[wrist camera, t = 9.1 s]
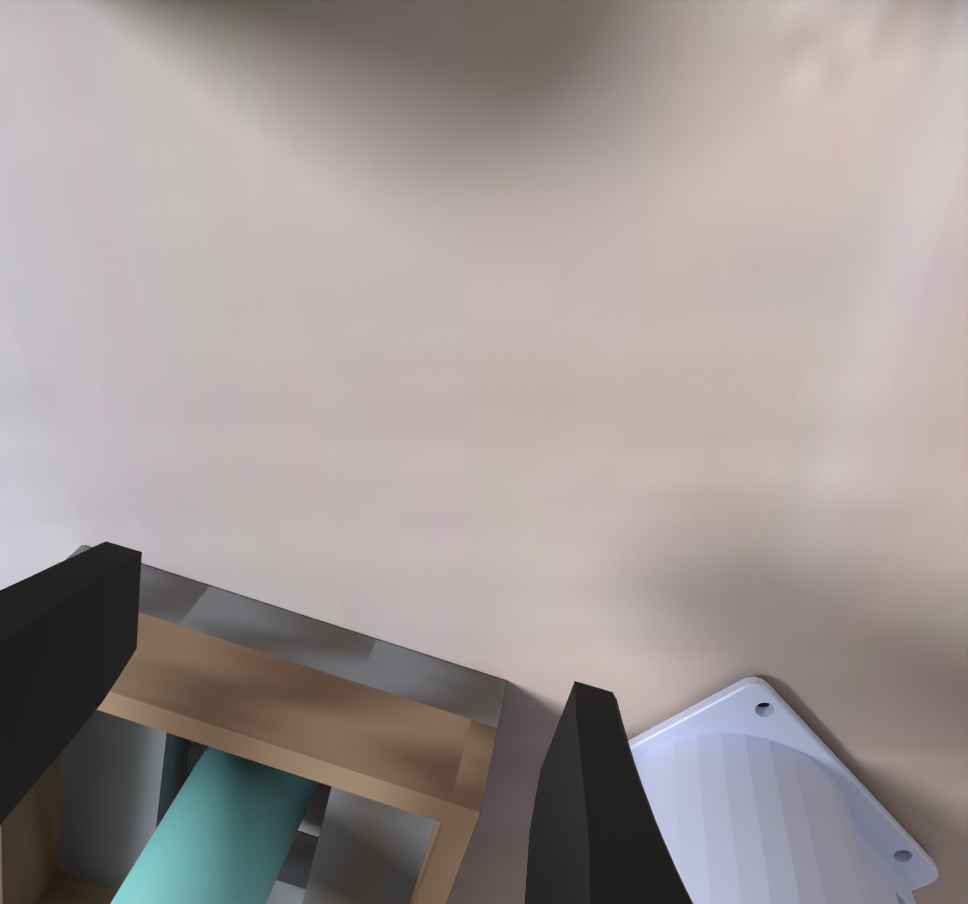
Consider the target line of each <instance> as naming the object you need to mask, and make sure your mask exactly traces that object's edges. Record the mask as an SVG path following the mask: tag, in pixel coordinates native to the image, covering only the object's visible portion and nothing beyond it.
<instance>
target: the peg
mask: <svg viewBox="0 0 968 904" xmlns="http://www.w3.org/2000/svg"><path fill="white" fill-rule="evenodd" d="M317 784H318V782H317V781H313V780H310V779H307V778H304V777H301V776H298V775H295V774H292V773H289V772H286V771H283V770H280V769H277V768H274V767H271V766H268V765H265V764H261V763H258V762H255V761H252V760H249V759H246V758H243V757H240V756H237V755H234V754H231V753H228V752H225V751H222V750H219V749H216V748H213V747H209V746H207V747H206V749H205V751H204V752H203V754H202V755H201V757H200V759H199V760H198V762H197V764H196V765H195V767H194V768H193V770H192V772H191V773H190V775H189V777H188V778H187V780H186V781H185V783H184V785H183V786H182V788H181V790H180V791H179V793H178V794H177V796H176V798H175V799H174V801H173V803H172V804H171V806H170V807H169V809H168V811H167V812H166V814H165V816H164V817H163V819H162V820H161V822H160V824H159V825H158V827H157V829H156V830H155V832H154V833H153V835H152V837H151V838H150V840H149V842H148V843H147V845H146V846H145V848H144V850H143V851H142V853H141V855H140V856H139V858H138V859H137V861H136V863H135V864H134V866H133V868H132V869H131V871H130V872H129V874H128V876H127V877H126V879H125V881H124V882H123V884H122V885H121V887H120V889H119V890H118V892H117V894H116V895H115V897H114V898H113V900H112V902H111V903H110V904H266V902H267V900H268V898H269V895H270V893H271V891H272V888H273V886H274V884H275V882H276V879H277V877H278V875H279V872H280V870H281V868H282V865H283V863H284V861H285V858H286V856H287V854H288V852H289V849H290V847H291V845H292V842H293V840H294V838H295V835H296V833H297V831H298V828H299V826H300V824H301V821H302V819H303V817H304V815H305V812H306V810H307V808H308V805H309V803H310V801H311V798H312V796H313V794H314V791H315V789H316V787H317Z"/></svg>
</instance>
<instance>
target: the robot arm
mask: <svg viewBox="0 0 968 904" xmlns="http://www.w3.org/2000/svg"><path fill="white" fill-rule="evenodd" d="M141 556H142V552H140V551H136V550H133V549H130V548H126V547H123V546H119V545H116V544H113V543H109V542H104V543H102V544H99V545H97V546H95V547H92V548H90V549H88V550H86V551H84V552H82V553H79V554H77V555H75V556H73V557H71V558H69V559H67V560H65V561H62V562H60V563H58V564H56V565H54V566H52V567H50V568H48V569H46V570H44V571H41V572H39V573H37V574H35V575H33V576H31V577H29V578H26V579H24V580H22V581H20V582H18V583H16V584H13V585H11V586H9V587H7V588H5V589H2V590H0V825H1V824H2V823H3V821H4V820H5V819H6V817H7V816H8V815H9V814H10V813H11V811H12V810H13V809H14V808H15V807H16V805H17V804H18V803H19V802H20V801H21V799H22V798H23V797H24V796H25V795H26V794H27V792H28V791H29V790H30V789H31V788H32V786H33V785H34V784H35V783H36V782H37V780H38V779H39V778H40V777H41V776H42V774H43V773H44V772H45V771H46V770H47V769H48V767H49V766H50V765H51V764H52V763H53V761H54V760H55V759H56V758H57V757H58V755H59V754H60V753H61V752H62V751H63V749H64V748H65V747H66V746H67V745H68V744H69V742H70V741H71V740H72V739H73V737H74V736H75V735H76V734H77V733H78V731H79V730H80V729H81V728H82V727H83V725H84V724H85V723H86V722H87V721H88V719H89V718H90V717H91V716H92V714H93V713H94V712H95V711H96V709H97V708H98V707H99V706H100V705H101V703H102V702H103V701H104V699H105V697H106V696H107V694H108V693H109V691H110V690H111V688H112V687H113V685H114V684H115V682H116V681H117V679H118V678H119V676H120V675H121V673H122V671H123V670H124V668H125V667H126V665H127V663H128V662H129V660H130V658H131V657H132V655H133V654H134V652H135V650H136V649H137V633H138V614H139V595H140V576H141ZM760 703H769V704H770V705H769V706H767V707H758V706H757V705H758V704H760ZM900 850H904V851H900ZM937 878H938V870H937V867H936V865H935V863H934V861H933V859H932V858H931V857H930V856H929V855H928V854H927V853H926V852H925V851H924V850H923V849H922V848H921V847H920V845H919V844H918V843H917V842H916V841H915V840H914V839H913V838H912V837H911V836H910V835H909V834H908V833H907V832H906V830H905V829H904V828H903V827H902V826H901V825H900V824H899V823H898V822H897V821H896V820H895V819H894V818H893V817H892V816H891V814H890V813H889V812H888V811H887V810H886V809H885V808H884V807H883V806H882V805H881V804H880V803H879V802H878V801H877V799H876V798H875V797H874V796H873V795H872V794H871V793H870V792H869V791H868V790H867V789H866V788H865V787H864V786H863V784H862V783H861V782H860V781H859V780H858V779H857V778H856V777H855V776H854V775H853V774H852V773H851V772H850V771H849V769H848V768H847V767H846V766H845V765H844V764H843V763H842V762H841V761H840V760H839V759H838V758H837V757H836V756H835V754H834V753H833V752H832V751H831V750H830V749H829V748H828V747H827V746H826V745H825V744H824V743H823V742H822V741H821V739H820V738H819V737H818V736H817V735H816V734H815V733H814V732H813V731H812V730H811V729H810V728H809V727H808V726H807V724H806V723H805V722H804V721H803V720H802V719H801V718H800V717H799V716H798V715H797V714H796V713H795V712H794V711H793V709H792V708H791V707H790V706H789V705H788V704H787V703H786V702H785V701H784V700H783V699H782V698H781V697H780V696H779V694H778V693H777V692H776V691H775V690H774V689H773V688H772V687H771V686H770V685H769V684H768V683H767V682H766V681H765V680H763V679H761V678H758V677H747V678H744V679H741V680H740V681H738V682H736V683H734V684H732V685H730V686H728V687H727V688H725V689H723V690H721V691H719V692H717V693H716V694H714V695H712V696H710V697H708V698H706V699H704V700H703V701H701V702H699V703H697V704H695V705H693V706H691V707H690V708H688V709H686V710H684V711H682V712H680V713H679V714H677V715H675V716H673V717H671V718H669V719H667V720H666V721H664V722H662V723H660V724H658V725H656V726H655V727H653V728H651V729H649V730H647V731H645V732H643V733H642V734H640V735H638V736H636V737H634V738H632V739H630V740H629V741H628V740H627V736H626V733H625V729H624V726H623V722H622V718H621V715H620V711H619V707H618V703H617V699H616V698H615V696H614V694H613V692H610V691H606V690H603V689H599V688H596V687H593V686H589V685H586V684H583V683H579V682H576V681H575V682H574V685H573V687H572V690H571V693H570V695H569V698H568V701H567V703H566V706H565V708H564V711H563V714H562V716H561V719H560V721H559V724H558V727H557V729H556V732H555V735H554V737H553V740H552V742H551V745H550V748H549V750H548V753H547V755H546V758H545V761H544V763H543V766H542V769H541V772H540V777H539V783H538V788H537V794H536V799H535V805H534V810H533V816H532V822H531V828H530V835H529V849H528V864H527V878H526V893H525V904H916V901H915V898H914V895H913V892H912V891H914V890H916V889H919V888H922V887H924V886H927V885H929V884H931V883H933V882H935V881H936V879H937Z"/></svg>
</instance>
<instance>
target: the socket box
mask: <svg viewBox="0 0 968 904" xmlns="http://www.w3.org/2000/svg"><path fill="white" fill-rule="evenodd" d="M88 549H90V547H87V546H84V545H82V546H81V547H79V548H78V549H77V550H76V551H75V552H74V553H73V554H72V555H70V556H69V557H68V558H67V559H69V558H71V557H73V556H75V555H77V554H79V553H82V552H84V551H86V550H88ZM67 559H66V560H67ZM506 685H507V681H505V680H502V679H498V678H495V677H492V676H489V675H486V674H483V673H480V672H477V671H474V670H470V669H467V668H464V667H461V666H458V665H455V664H452V663H449V662H445V661H442V660H439V659H436V658H433V657H430V656H427V655H424V654H421V653H417V652H414V651H411V650H408V649H405V648H402V647H399V646H396V645H392V644H389V643H386V642H383V641H380V640H377V639H374V638H371V637H368V636H364V635H361V634H358V633H355V632H352V631H349V630H346V629H343V628H339V627H336V626H333V625H330V624H327V623H324V622H321V621H318V620H315V619H311V618H308V617H305V616H302V615H299V614H296V613H293V612H290V611H286V610H283V609H280V608H277V607H274V606H271V605H268V604H265V603H262V602H258V601H255V600H252V599H249V598H246V597H243V596H240V595H237V594H233V593H230V592H227V591H224V590H221V589H218V588H215V587H212V586H209V585H205V584H202V583H199V582H196V581H193V580H190V579H187V578H184V577H180V576H177V575H174V574H171V573H168V572H165V571H162V570H159V569H156V568H152V567H149V566H146V565H143V564H141V576H140V595H139V614H138V633H137V649H136V650H135V652H134V654H133V655H132V657H131V658H130V660H129V662H128V663H127V665H126V667H125V668H124V670H123V671H122V673H121V675H120V676H119V678H118V679H117V681H116V682H115V684H114V685H113V687H112V688H111V690H110V691H109V693H108V694H107V696H106V697H105V699H104V701H103V702H102V703H101V705H100V706H99V707H98V708H97V709H96V711H95V712H94V713H93V714H92V716H91V717H90V718H89V719H88V721H87V722H86V723H85V724H84V725H83V727H82V728H81V729H80V730H79V731H78V733H77V734H76V735H75V736H74V737H73V739H72V740H71V741H70V742H69V744H68V745H67V746H66V747H65V748H64V749H63V751H62V752H61V753H60V754H59V755H58V757H57V758H56V759H55V760H54V761H53V763H52V764H51V765H50V766H49V767H48V769H47V770H46V771H45V772H44V773H43V774H42V776H41V777H40V778H39V779H38V780H37V782H36V783H35V784H34V785H33V786H32V788H31V789H30V790H29V791H28V792H27V794H26V795H25V796H24V797H23V798H22V799H21V801H20V802H19V803H18V804H17V805H16V807H15V808H14V809H13V810H12V811H11V813H10V814H9V815H8V816H7V817H6V819H5V820H4V821H3V823H2V824H1V825H0V904H110V903H111V902H112V900H113V898H114V897H115V895H116V894H117V892H118V890H119V889H120V887H121V885H122V884H123V882H124V881H125V879H126V877H127V876H128V874H129V872H130V871H131V869H132V868H133V866H134V864H135V863H136V861H137V859H138V858H139V856H140V855H141V853H142V851H143V850H144V848H145V846H146V845H147V843H148V842H149V840H150V838H151V837H152V835H153V833H154V832H155V830H156V829H157V827H158V825H159V824H160V822H161V820H162V819H163V817H164V816H165V814H166V812H167V811H168V809H169V807H170V806H171V804H172V803H173V801H174V799H175V798H176V796H177V794H178V793H179V791H180V790H181V788H182V786H183V785H184V779H185V772H186V764H187V756H188V749H189V741H190V740H191V741H194V742H197V743H200V744H203V745H206V746H209V747H213V748H216V749H219V750H222V751H225V752H228V753H231V754H234V755H237V756H240V757H243V758H246V759H249V760H252V761H255V762H258V763H261V764H265V765H268V766H271V767H274V768H277V769H280V770H283V771H286V772H289V773H292V774H295V775H298V776H301V777H304V778H307V779H310V780H313V781H317V782H320V783H323V784H326V785H329V786H332V787H331V791H330V795H329V799H328V803H327V807H326V811H325V815H324V819H323V823H322V827H321V831H320V835H319V838H316V837H313V836H310V835H307V834H304V833H301V832H298V831H297V833H296V835H295V838H294V840H293V842H292V845H291V847H290V849H289V852H288V854H287V856H286V858H285V861H284V863H283V865H282V868H281V870H280V872H279V875H278V877H277V879H276V882H275V884H274V886H273V888H272V891H271V893H270V895H269V898H268V900H267V902H266V904H446V902H447V899H448V896H449V894H450V891H451V888H452V886H453V883H454V881H455V878H456V875H457V873H458V870H459V867H460V865H461V862H462V859H463V857H464V854H465V852H466V849H467V846H468V844H469V841H470V838H471V836H472V833H473V831H474V828H475V825H476V823H477V820H478V817H479V815H480V812H481V807H482V802H483V797H484V792H485V788H486V783H487V778H488V773H489V768H490V763H491V758H492V753H493V748H494V743H495V739H496V734H497V729H498V724H499V719H500V714H501V709H502V704H503V699H504V695H505V690H506Z"/></svg>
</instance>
